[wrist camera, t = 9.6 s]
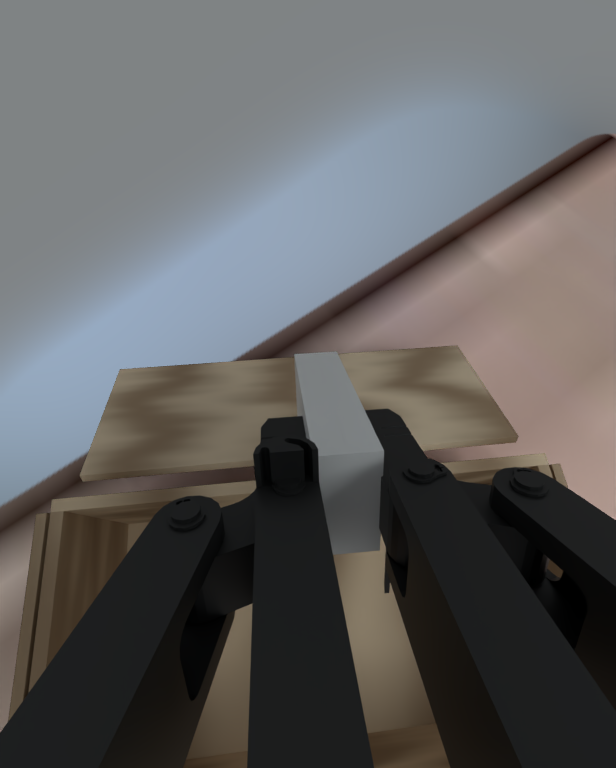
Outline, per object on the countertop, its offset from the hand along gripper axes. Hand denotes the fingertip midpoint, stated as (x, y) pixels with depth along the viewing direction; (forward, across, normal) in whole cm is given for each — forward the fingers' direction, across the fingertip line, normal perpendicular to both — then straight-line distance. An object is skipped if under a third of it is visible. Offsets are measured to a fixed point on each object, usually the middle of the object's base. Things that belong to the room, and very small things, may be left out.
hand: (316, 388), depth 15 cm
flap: (+1, 0, +4) cm, 4 cm away
